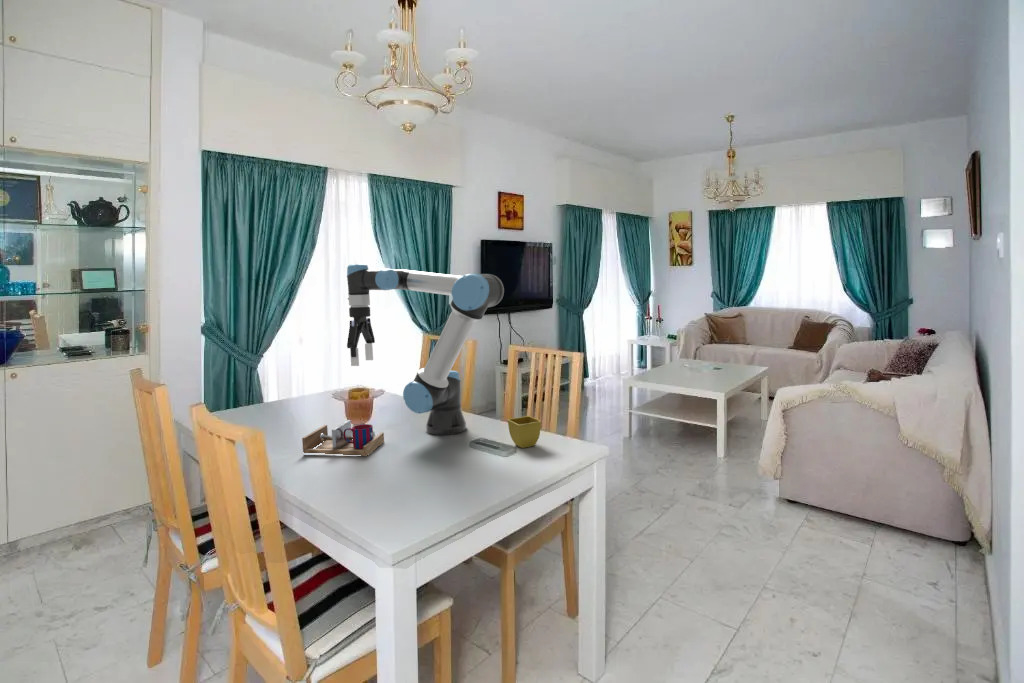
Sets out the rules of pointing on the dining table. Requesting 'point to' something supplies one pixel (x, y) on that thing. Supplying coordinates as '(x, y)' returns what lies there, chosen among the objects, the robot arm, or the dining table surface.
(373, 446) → the wooden tray
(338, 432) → the pusher
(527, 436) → the flower pot
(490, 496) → the dining table surface
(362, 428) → the mug
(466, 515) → the dining table surface
